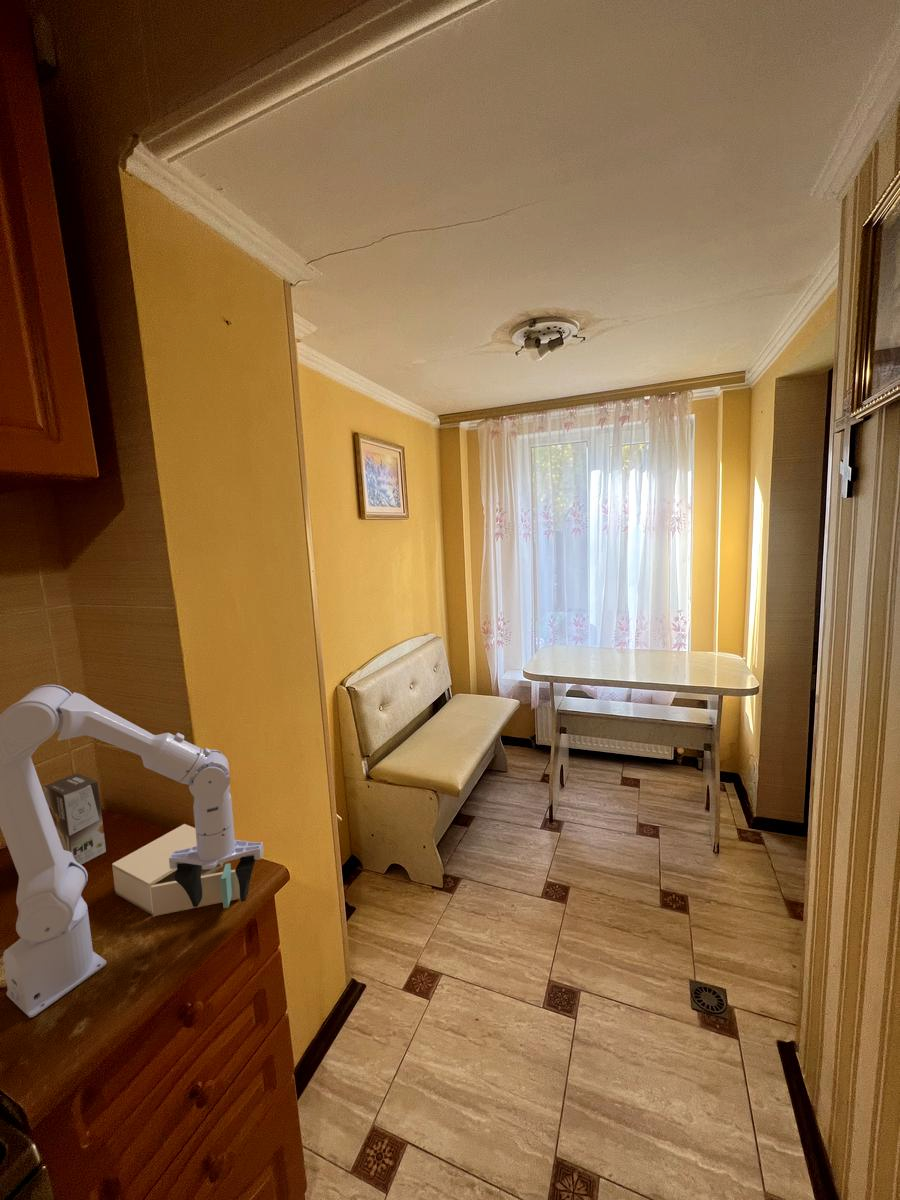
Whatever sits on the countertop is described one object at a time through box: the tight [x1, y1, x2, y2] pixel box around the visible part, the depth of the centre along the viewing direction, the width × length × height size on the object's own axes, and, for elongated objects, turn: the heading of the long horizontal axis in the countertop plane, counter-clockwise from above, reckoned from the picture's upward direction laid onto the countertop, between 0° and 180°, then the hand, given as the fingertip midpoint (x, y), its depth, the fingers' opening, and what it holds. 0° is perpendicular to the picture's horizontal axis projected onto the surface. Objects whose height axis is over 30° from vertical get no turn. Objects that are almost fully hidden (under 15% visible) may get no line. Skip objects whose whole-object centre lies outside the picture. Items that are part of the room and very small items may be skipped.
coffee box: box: [43, 772, 107, 866], centre depth 98 cm, size 9×6×16 cm
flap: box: [151, 862, 240, 917], centre depth 81 cm, size 14×5×7 cm, turn 105°
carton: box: [111, 823, 225, 916], centre depth 90 cm, size 14×12×6 cm
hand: (221, 899), depth 80 cm, fingers open, 7 cm apart
